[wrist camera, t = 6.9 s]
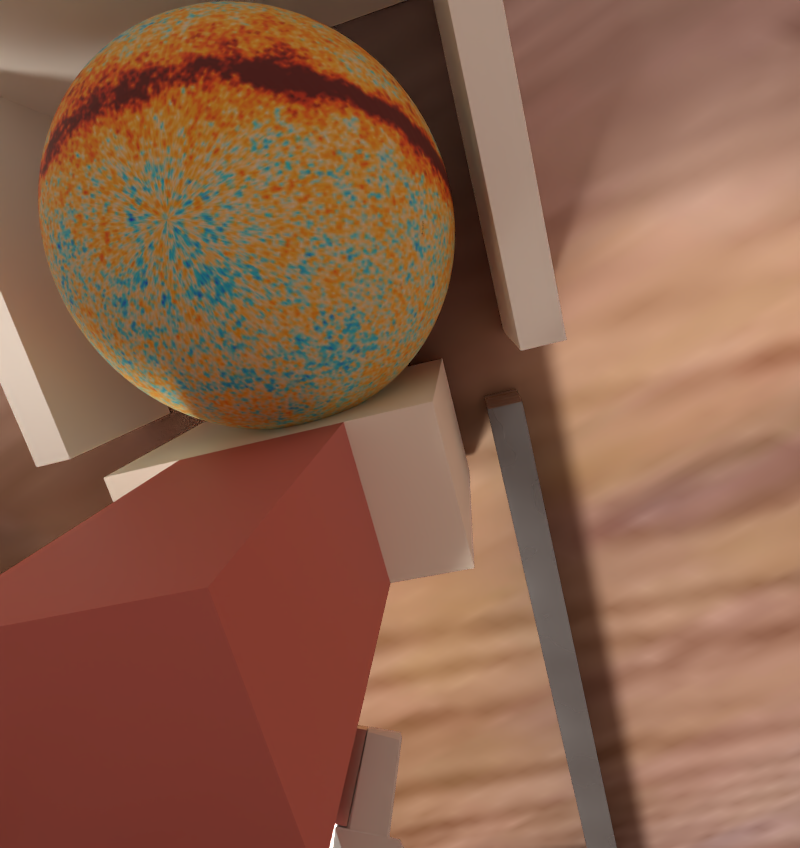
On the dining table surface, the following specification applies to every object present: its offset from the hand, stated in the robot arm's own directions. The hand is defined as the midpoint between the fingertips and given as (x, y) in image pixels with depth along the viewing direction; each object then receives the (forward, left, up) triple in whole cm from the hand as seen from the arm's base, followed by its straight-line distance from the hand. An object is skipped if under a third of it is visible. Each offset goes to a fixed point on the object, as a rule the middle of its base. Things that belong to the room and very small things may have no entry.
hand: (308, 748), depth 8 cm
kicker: (0, +3, -7) cm, 8 cm away
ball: (+1, +8, -7) cm, 11 cm away
